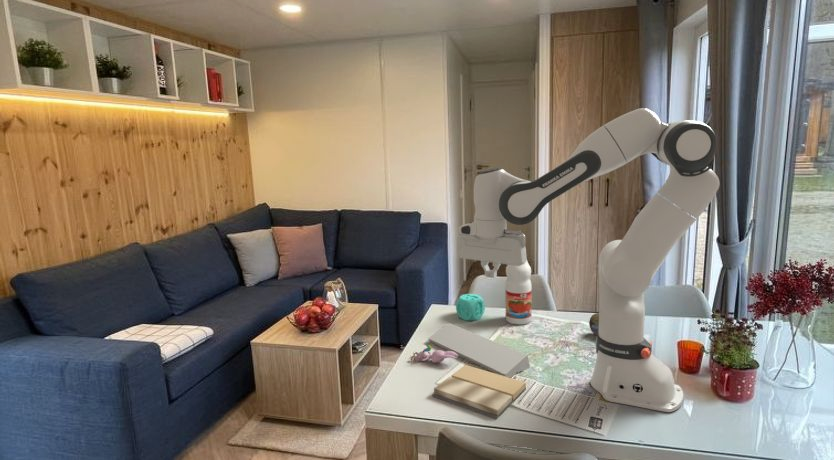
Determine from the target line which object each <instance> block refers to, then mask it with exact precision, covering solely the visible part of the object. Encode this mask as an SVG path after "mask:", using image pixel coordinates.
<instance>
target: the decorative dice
mask: <svg viewBox="0 0 834 460" xmlns="http://www.w3.org/2000/svg"><path fill="white" fill-rule="evenodd" d="M455 303H456V304H455V311H456V313H457V315H458V317H459V318H460V319H462V320H464V321H471V322H472V321H477V320H479V319H481V318H482V317H483V316H484V314H485V309H486V303H485V301H484V299H483V297H481V295H479V294H475V293H466V294H465V293H464V294H462V295H460V296H459V297H458V299H457V301H456V302H455Z"/></svg>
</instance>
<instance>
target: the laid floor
mask: <svg viewBox="0 0 834 460" xmlns="http://www.w3.org/2000/svg"><path fill="white" fill-rule="evenodd" d="M451 377H453V378H456V379H459V380H462V381H466V382H469V383H472V384H475V385H478V386H481V387H485V388H488V389H491V390H494V391H497V392H500V393H504V394H507V395H510V396H512V402H511V403H510V404H509V405H508V406H507V407H506V408H505V409H504V410H503V411H502V412H501V413H500V414H499V415H495V414H492V413H489V412H486V411H483V410H480V409H478V408H475V407H472V406H469V405H466V404H463V403H460V402H458V401H455V400H452V399H449V398H446V397H443V396H440V395H437V394H435V393H433V394H432V397H433V398H434V399H435V398H436V399H439V400H441V401H444V402H446V403H449V404H452V405H455V406H458V407H461V408H463V409H465V410H466V409H467V410H470V411H472V412H476V413H478V414H481V415H483V416H486V417H489V418H492V419H495V420H498V418H499V417H500V416H501V415H503V413H504V412H505V411H506V410H508V408H509V407H510V406H512V404H513V403H514V402H515V401H516V400H517V399H518V398H519V397H520V396H521V395H522V394H523V393H524V392H525V391H526V390H527V387H526V386H527V385H526V382H525V381H523V380H519V379H515V378H512V377H510V378H509V377H505V376H502V375H498V374H496V373H494V372H492V371H487V370H484V369H481V368H478V367H474V366H471V365H468V364H464V365H463V366H461V367H460V368H459V369H457V371H455V372H454V373H452V374H451Z"/></svg>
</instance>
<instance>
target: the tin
mask: <svg viewBox="0 0 834 460" xmlns="http://www.w3.org/2000/svg"><path fill="white" fill-rule="evenodd" d="M588 323H589V324H588V325H589V328H590V331H591V333H593V335H595V336H596V337H597V334H598V333H599V312H597V313H594V314H592V315H591V316H590V318H589V321H588Z"/></svg>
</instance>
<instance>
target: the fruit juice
mask: <svg viewBox="0 0 834 460" xmlns="http://www.w3.org/2000/svg"><path fill="white" fill-rule="evenodd" d="M505 274H506V281H505V288H504V289H505V320H506V322H508V323H509V324H512V325H518V326H519V325H520V326H521V325H527V324H529V323H531V322H532V298H533V297H532V294H533V293H532V290H533V288H532V281H531V275H532V267H531V266H530V264H529V261H528V259H527V260H526V262H525V263H524V264H523V265H521V266H515V265H507V264H506V266H505Z"/></svg>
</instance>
